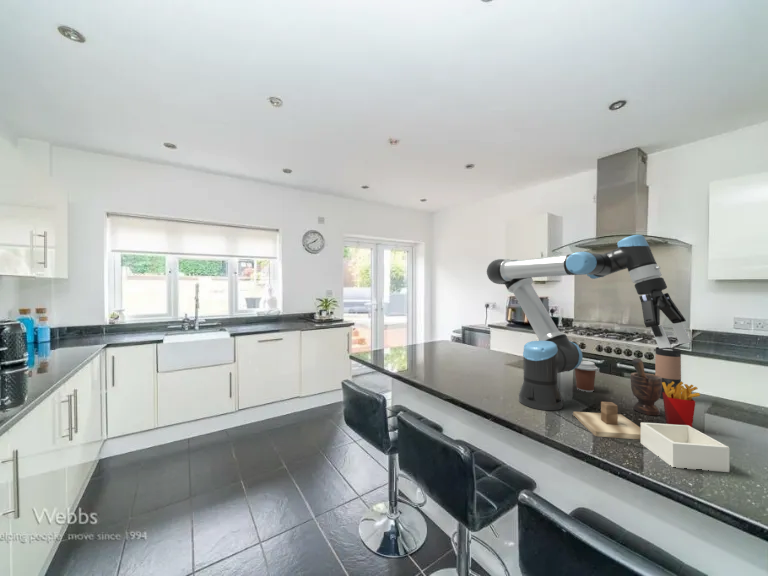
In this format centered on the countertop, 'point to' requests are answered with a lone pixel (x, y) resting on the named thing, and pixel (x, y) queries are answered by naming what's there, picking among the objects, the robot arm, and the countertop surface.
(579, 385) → the coffee cup
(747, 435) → the countertop surface
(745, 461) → the countertop surface
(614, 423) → the lid
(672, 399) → the french fries
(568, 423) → the countertop surface
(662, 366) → the travel mug
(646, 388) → the mortar and pestle
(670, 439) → the white open storage bin
